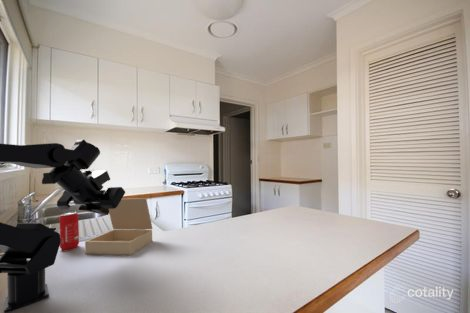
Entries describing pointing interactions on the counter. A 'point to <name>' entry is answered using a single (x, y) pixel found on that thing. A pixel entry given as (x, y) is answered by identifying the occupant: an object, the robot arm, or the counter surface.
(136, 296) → the counter surface
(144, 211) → the mailer lid
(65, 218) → the beverage can
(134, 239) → the mailer box
